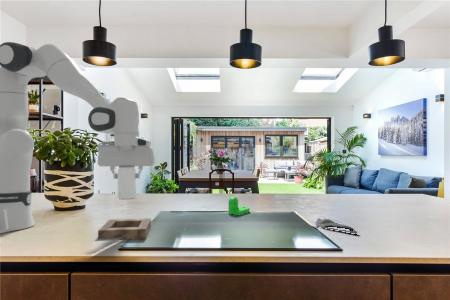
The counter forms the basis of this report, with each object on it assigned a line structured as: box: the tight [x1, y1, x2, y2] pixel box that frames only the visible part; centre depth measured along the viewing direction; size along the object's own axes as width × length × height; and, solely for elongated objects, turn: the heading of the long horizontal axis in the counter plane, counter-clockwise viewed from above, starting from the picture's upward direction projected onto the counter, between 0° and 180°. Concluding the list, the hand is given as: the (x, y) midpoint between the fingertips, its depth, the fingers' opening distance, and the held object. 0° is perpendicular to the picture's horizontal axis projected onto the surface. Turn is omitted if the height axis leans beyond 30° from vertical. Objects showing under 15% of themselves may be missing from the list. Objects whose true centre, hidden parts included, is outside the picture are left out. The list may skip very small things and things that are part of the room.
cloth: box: [315, 217, 357, 234], centre depth 123 cm, size 26×14×2 cm, turn 3°
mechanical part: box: [228, 196, 250, 216], centre depth 148 cm, size 12×6×8 cm, turn 143°
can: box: [117, 166, 137, 201], centre depth 110 cm, size 6×6×12 cm
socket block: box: [97, 217, 152, 241], centre depth 110 cm, size 16×16×4 cm
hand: (126, 178), depth 110 cm, fingers closed on can, 6 cm apart
